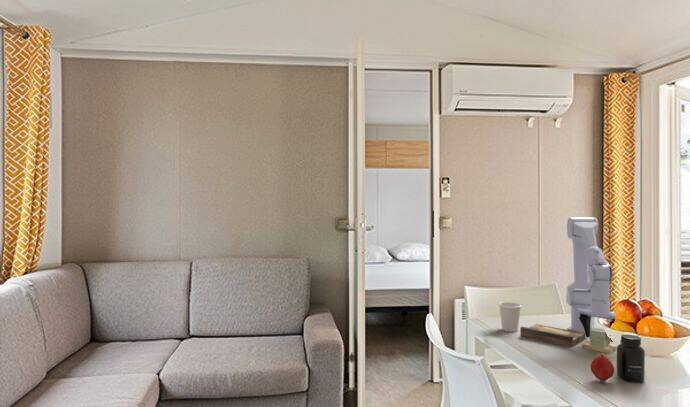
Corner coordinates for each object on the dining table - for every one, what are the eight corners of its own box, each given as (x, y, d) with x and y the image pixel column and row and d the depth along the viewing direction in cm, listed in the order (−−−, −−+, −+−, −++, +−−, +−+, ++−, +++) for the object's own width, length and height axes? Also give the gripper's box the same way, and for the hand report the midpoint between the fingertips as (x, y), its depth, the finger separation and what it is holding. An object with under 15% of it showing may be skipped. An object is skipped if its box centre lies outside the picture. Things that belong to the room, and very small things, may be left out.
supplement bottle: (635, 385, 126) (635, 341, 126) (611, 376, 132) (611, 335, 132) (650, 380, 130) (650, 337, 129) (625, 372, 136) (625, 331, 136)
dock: (536, 329, 181) (536, 320, 181) (585, 338, 168) (585, 329, 168) (520, 336, 171) (520, 327, 171) (571, 347, 159) (571, 337, 159)
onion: (586, 378, 132) (585, 350, 132) (605, 377, 132) (605, 349, 132) (599, 386, 126) (598, 357, 126) (618, 385, 126) (618, 356, 126)
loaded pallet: (590, 342, 165) (590, 324, 165) (618, 348, 159) (618, 329, 158) (581, 348, 158) (581, 329, 158) (610, 354, 152) (610, 334, 152)
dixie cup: (498, 331, 178) (497, 305, 178) (499, 326, 186) (499, 301, 186) (521, 333, 175) (521, 307, 175) (521, 328, 183) (521, 303, 183)
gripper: (573, 298, 161) (573, 337, 161) (620, 304, 150) (620, 346, 151) (580, 295, 166) (580, 332, 166) (626, 301, 155) (626, 341, 155)
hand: (600, 339), depth 158 cm, fingers open, 7 cm apart
